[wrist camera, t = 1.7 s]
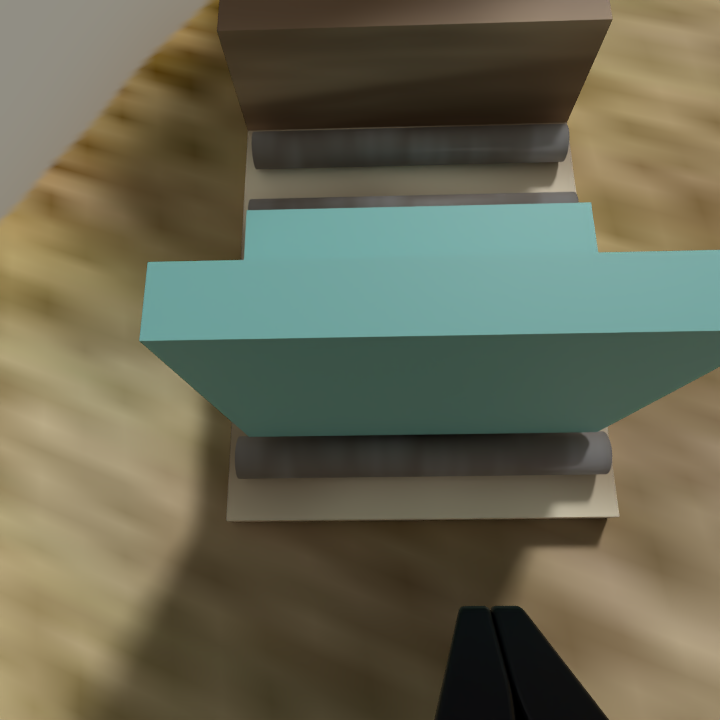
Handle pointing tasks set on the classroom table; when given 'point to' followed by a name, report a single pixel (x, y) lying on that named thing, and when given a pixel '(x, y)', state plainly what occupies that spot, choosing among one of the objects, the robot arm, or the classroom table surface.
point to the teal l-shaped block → (433, 322)
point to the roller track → (410, 189)
